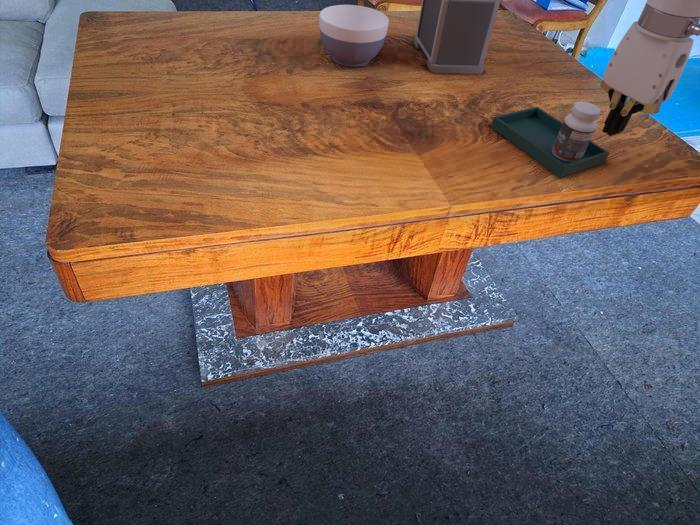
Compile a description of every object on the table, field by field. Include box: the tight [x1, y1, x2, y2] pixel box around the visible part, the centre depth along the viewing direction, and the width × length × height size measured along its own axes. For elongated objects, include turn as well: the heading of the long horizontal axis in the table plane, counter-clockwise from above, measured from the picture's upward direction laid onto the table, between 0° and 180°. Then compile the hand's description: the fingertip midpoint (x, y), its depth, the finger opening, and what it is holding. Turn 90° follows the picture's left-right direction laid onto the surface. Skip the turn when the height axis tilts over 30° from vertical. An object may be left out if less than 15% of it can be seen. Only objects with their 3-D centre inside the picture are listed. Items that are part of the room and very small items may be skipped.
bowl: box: [318, 4, 390, 68], centre depth 118 cm, size 16×16×10 cm
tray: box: [490, 106, 610, 178], centre depth 100 cm, size 19×12×2 cm, turn 30°
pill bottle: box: [552, 101, 601, 162], centre depth 94 cm, size 6×6×10 cm
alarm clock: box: [413, 0, 502, 75], centre depth 121 cm, size 18×13×18 cm
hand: (611, 132), depth 88 cm, fingers closed
